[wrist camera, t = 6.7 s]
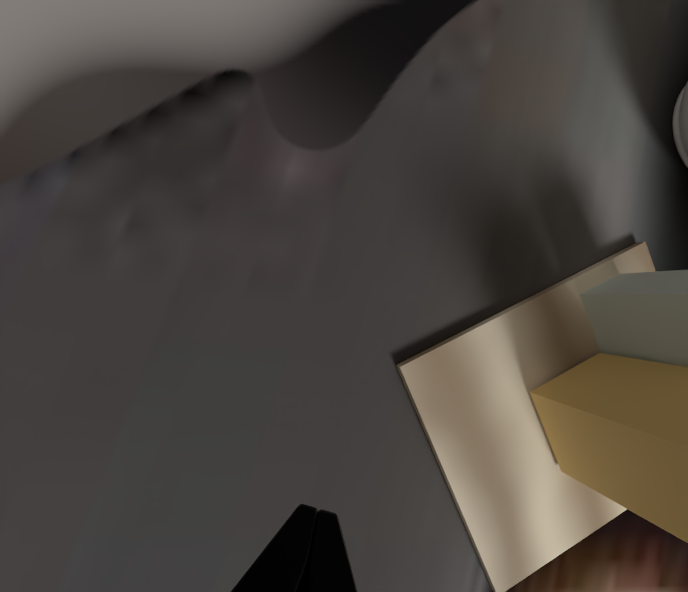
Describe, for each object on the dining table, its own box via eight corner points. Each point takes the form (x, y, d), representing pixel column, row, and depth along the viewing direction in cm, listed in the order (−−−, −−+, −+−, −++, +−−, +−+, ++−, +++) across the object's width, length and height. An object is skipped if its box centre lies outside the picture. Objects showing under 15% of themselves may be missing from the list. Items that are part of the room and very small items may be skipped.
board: (491, 588, 24) (497, 596, 23) (395, 365, 22) (399, 367, 22) (708, 444, 27) (718, 447, 27) (636, 242, 26) (645, 241, 25)
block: (561, 471, 24) (779, 595, 14) (529, 392, 23) (733, 462, 14) (660, 410, 25) (919, 482, 16) (632, 334, 25) (881, 359, 15)
